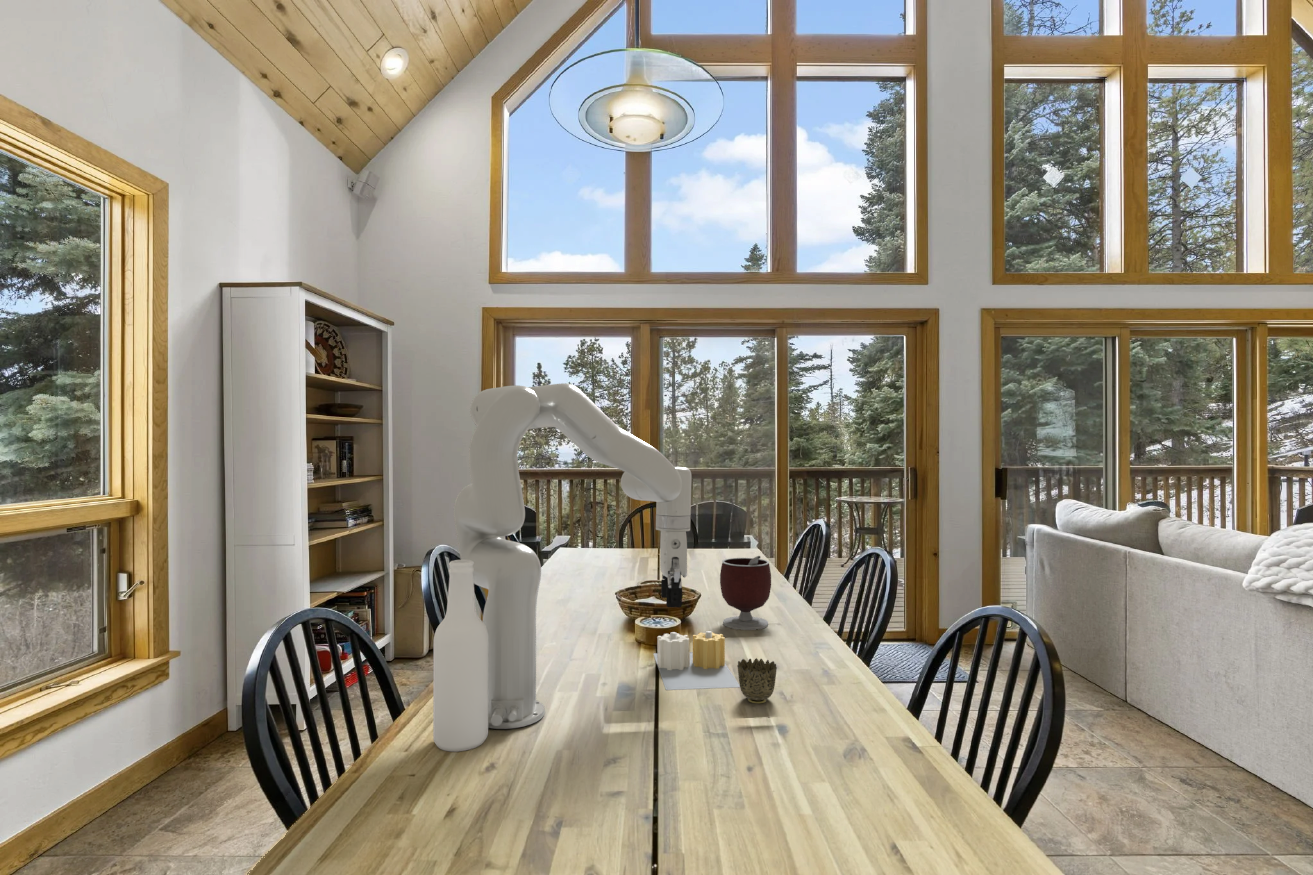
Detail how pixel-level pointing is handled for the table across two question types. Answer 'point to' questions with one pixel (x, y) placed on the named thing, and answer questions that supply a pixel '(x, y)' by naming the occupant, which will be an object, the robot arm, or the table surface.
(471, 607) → the alcohol
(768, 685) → the cup
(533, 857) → the table surface
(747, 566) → the mate gourd
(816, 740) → the table surface
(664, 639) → the cream gear
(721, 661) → the ochre gear
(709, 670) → the gear board
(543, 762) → the table surface
